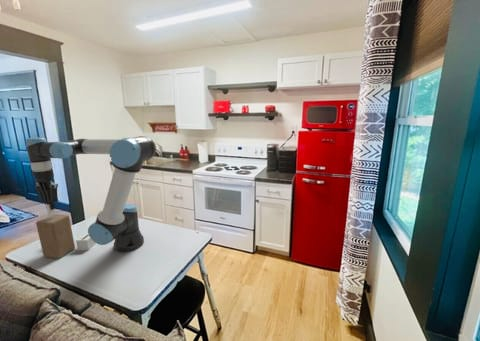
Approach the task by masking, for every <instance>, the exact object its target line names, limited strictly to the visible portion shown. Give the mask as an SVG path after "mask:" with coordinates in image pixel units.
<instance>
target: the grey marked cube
mask: <svg viewBox="0 0 480 341" xmlns="http://www.w3.org/2000/svg"><path fill="white" fill-rule="evenodd" d="M75 242H76V243H75V244H76V248H77V251H90V250H91V249H92V248H93V247H94V246H95V245H96V244H97V243H95V242H94V241H93V240H92V239H91V238H90V236H89V234H82V235H81V236H80V237H78V238H77V239H76V240H75Z"/></svg>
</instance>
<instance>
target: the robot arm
mask: <svg viewBox="0 0 480 341" xmlns="http://www.w3.org/2000/svg"><path fill="white" fill-rule="evenodd" d="M25 144H26V145H25V146H26V150H27V154H28V155H27V156H28V159H29V164H30V167H31V170H32V177H33V179H34V180H36V183H33V186H34V188H35V190H36V191H37V195H38V198H39V200H40V202H41V203H44V204H45V208H46V210H47V215H48V216H53V215H56V214H57V211H56V206H55V205H56V204H55V203H56V202H58V187H59V184H58V183H55V182H54V180H53V178H54V175H55V174H54V170H53V169H52V168H53V166H52V162H51V159H58V160H59V159H67V158H70V157H72V156H76V155H109V157H110V161H111V162H112V164H111V165H112V167H113V168H114V170H113V173H112V178H111V180H110V183H109V187H108V191H107V195H106V198H105V201H104V205H103V208H102V210H100V211H99V212H98V213H97V215H96V220H95V222H93V223H91V224H90V225H89V226H88V229H87V233H88V234H87V235H89V236H90V238H91V239H92V240H93V241H94V242H95V243H96V244H97V245H99V246H105V245H108V244H110V243H112V242H113V248H114V250H115V251H116V252H120V253H123V252H124V253H125V252H130V251H134V250H136V249H139V248H140V247H142V246H143V244H144V243H145V240H144V238H145V237H144V235H142V232H141V230H140V226H139V217H138V210H137V206H136V205H135V204H131V203H129V204H128V203H127V201H128V199H129V195H130V192H131V188H132V186H133V182H134V179H135V177H136V174H137V173H139V172H141V170H142V168H143V164H144V162H147V161H148V160H151V159H152V158H153V157H154V156H155V154H156V151H157V146H156V143H155V141H154V140H153V139H152V138H150V137H148V136H146V135H145V136H144V135H140V136H135V137H124V138H121V139H120V138H119V139H113V138H112V139H109V138H108V139H107V138H105V139H100V138H99V139H95V138H94V139H90V138H89V139H88V138H79V139H73V140H72V139H70V140H62V141H61V140H60V141H52V142H51V141H48V140H47V138H45V137H29V138H26V139H25ZM48 216H47V217H48Z"/></svg>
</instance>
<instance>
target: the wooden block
mask: <svg viewBox="0 0 480 341" xmlns="http://www.w3.org/2000/svg"><path fill="white" fill-rule="evenodd" d="M35 224H36V229H37V232H38V237H39V243H40V246H41V250H42V251H41V252H42V255H43V257H45V258H50V259H51V258H52V259H57V260H58V259H61V258H62V257H64V256H65V255H67V254H68V253H71V252H72V251H74V250H75V249H76V246H75V244H76V243H75V240H74V235H73V229H72V224H71V220H70V216H69V215H67V214H57V213H56V215H53V216H46V217H44V218H42V219H39V220H37V221H36V222H35Z"/></svg>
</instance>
